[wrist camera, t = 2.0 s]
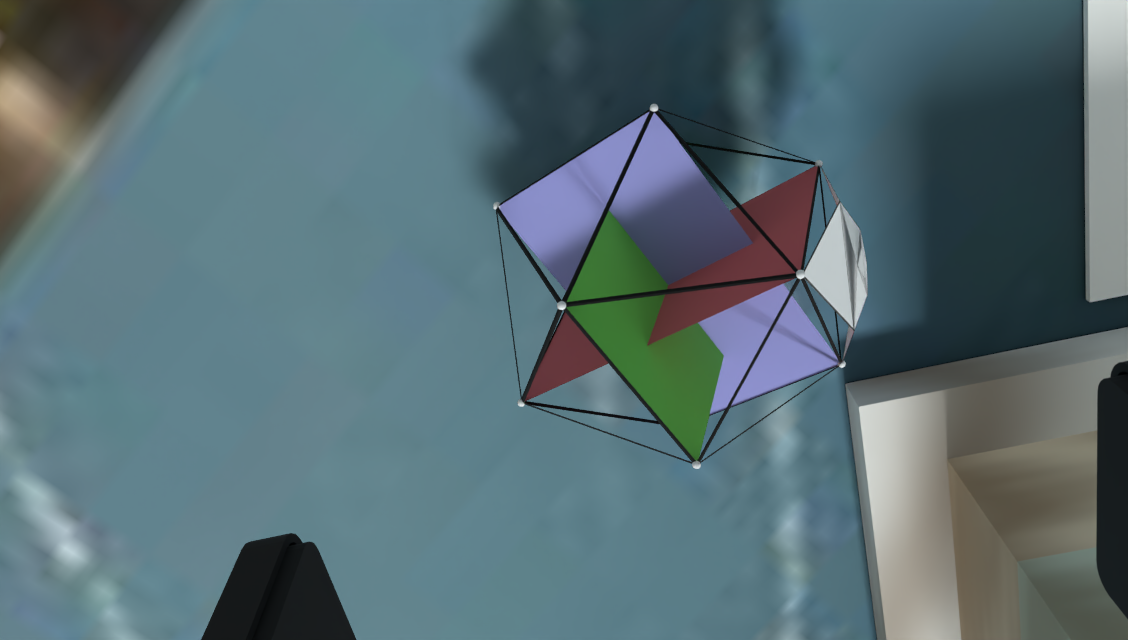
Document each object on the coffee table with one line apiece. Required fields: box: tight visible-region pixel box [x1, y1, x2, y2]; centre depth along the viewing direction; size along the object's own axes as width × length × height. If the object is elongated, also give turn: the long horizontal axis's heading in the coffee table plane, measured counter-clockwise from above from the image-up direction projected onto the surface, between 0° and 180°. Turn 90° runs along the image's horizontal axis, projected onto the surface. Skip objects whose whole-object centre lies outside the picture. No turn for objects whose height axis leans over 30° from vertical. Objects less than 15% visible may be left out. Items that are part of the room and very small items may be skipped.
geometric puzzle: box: [493, 104, 867, 469], centre depth 20 cm, size 7×7×8 cm
